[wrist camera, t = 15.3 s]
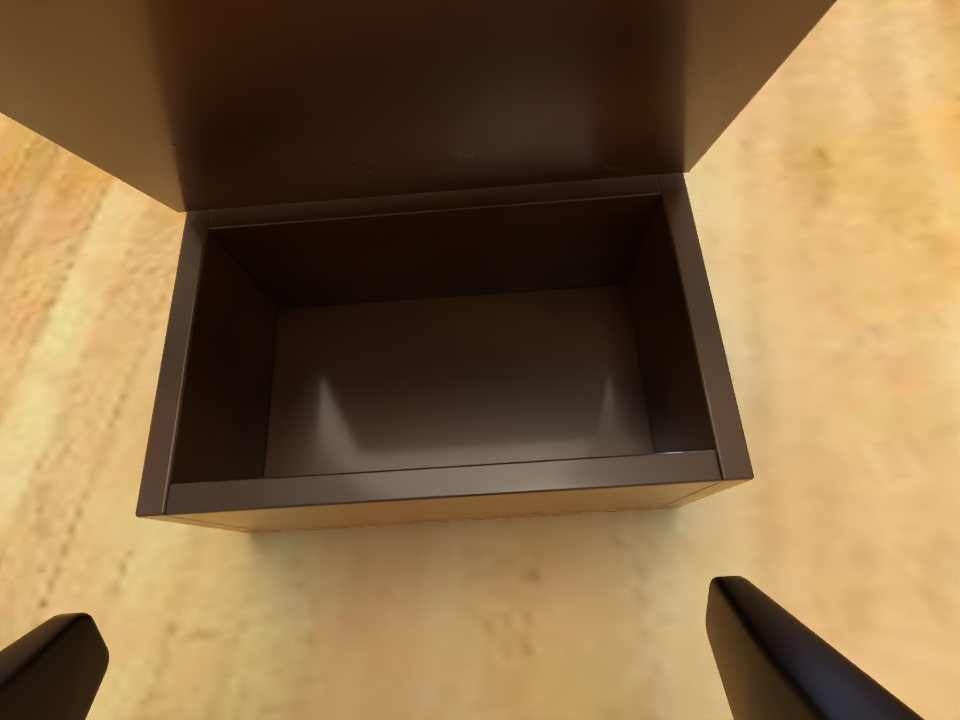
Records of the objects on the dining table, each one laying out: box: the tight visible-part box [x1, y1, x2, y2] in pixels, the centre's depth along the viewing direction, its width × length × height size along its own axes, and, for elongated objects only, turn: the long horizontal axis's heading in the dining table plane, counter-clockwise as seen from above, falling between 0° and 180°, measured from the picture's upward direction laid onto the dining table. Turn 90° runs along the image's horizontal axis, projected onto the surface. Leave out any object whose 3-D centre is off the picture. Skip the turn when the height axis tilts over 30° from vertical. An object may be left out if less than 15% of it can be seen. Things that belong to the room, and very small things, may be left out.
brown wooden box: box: [136, 173, 754, 533], centre depth 18 cm, size 9×16×6 cm, turn 93°
